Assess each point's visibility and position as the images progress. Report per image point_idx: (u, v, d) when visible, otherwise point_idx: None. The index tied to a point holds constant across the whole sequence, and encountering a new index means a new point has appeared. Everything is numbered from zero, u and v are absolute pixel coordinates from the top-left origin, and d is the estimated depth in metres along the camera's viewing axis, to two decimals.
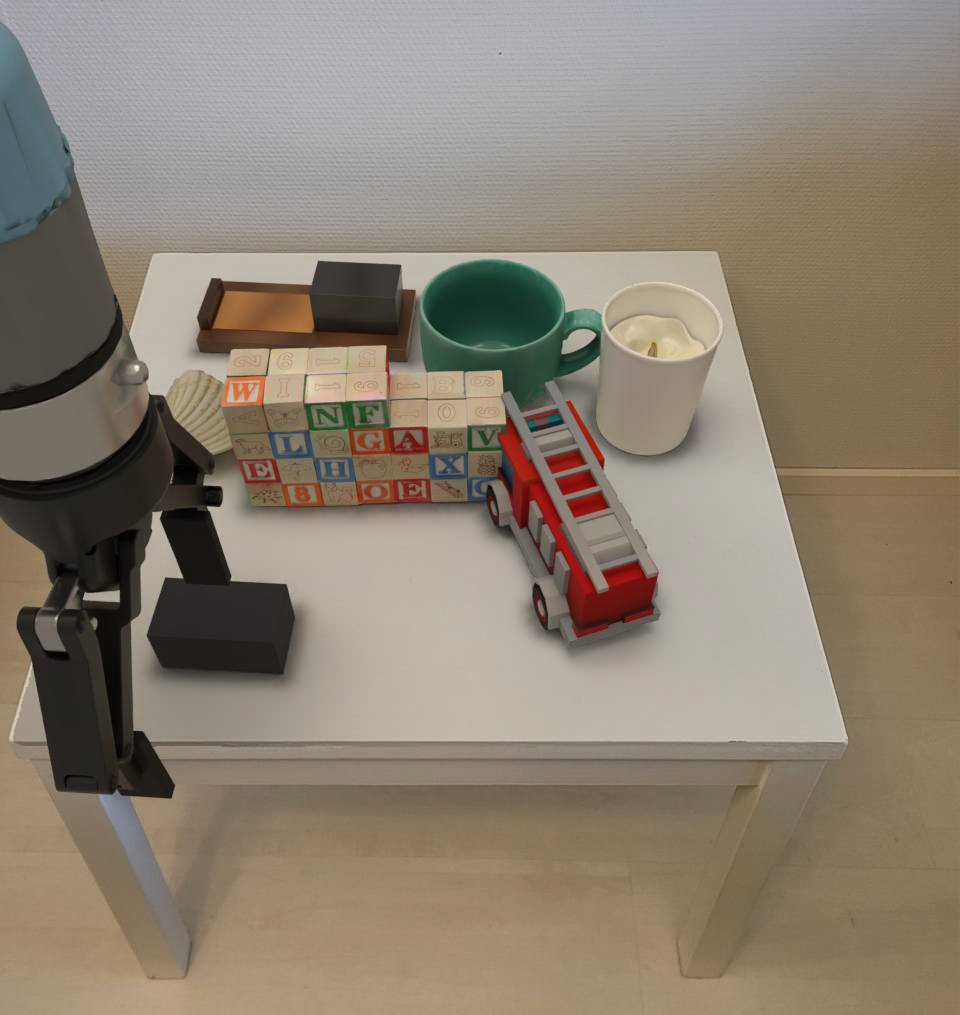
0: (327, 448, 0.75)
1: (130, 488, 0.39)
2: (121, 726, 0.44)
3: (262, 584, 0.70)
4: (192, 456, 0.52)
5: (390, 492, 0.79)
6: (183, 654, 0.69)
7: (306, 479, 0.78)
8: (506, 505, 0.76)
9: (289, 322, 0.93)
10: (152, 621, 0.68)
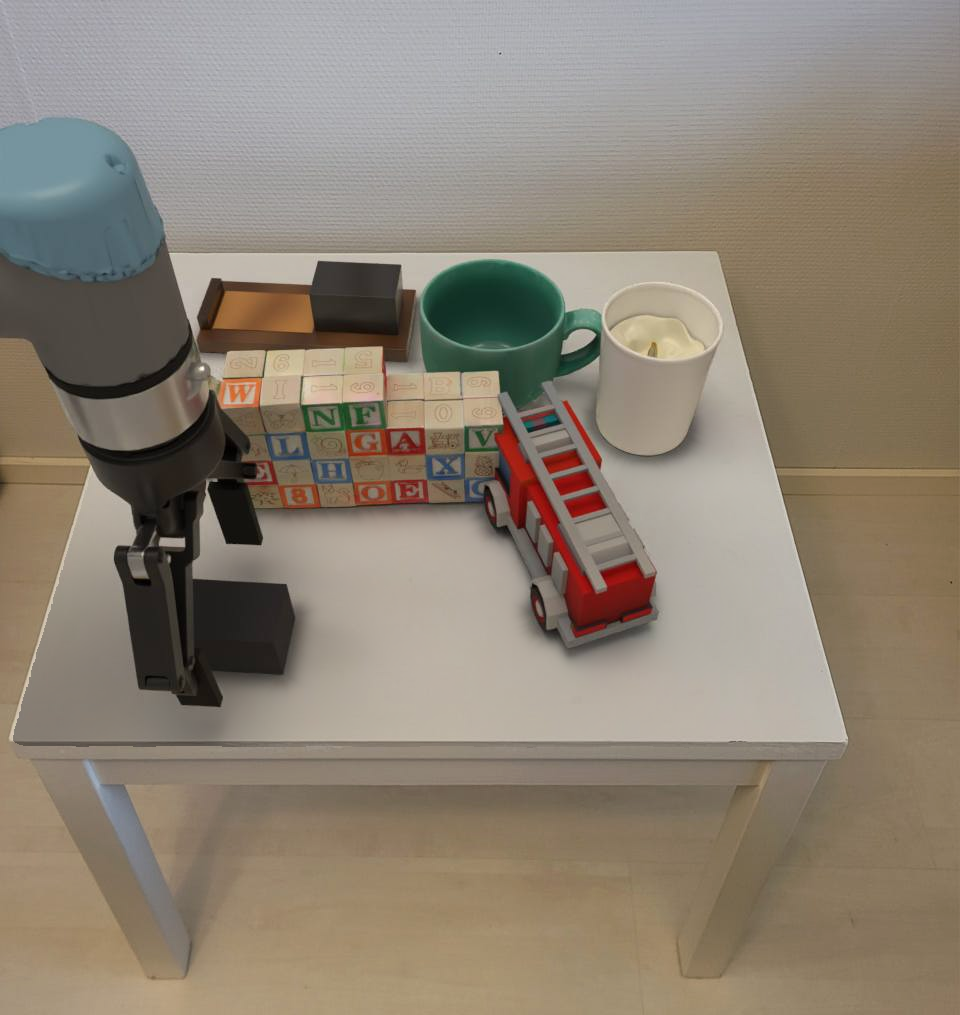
0: (324, 449, 0.75)
1: (196, 456, 0.53)
2: (186, 641, 0.58)
3: (262, 584, 0.70)
4: (234, 438, 0.66)
5: (387, 493, 0.79)
6: None
7: (303, 480, 0.77)
8: (503, 506, 0.76)
9: (289, 322, 0.93)
10: None
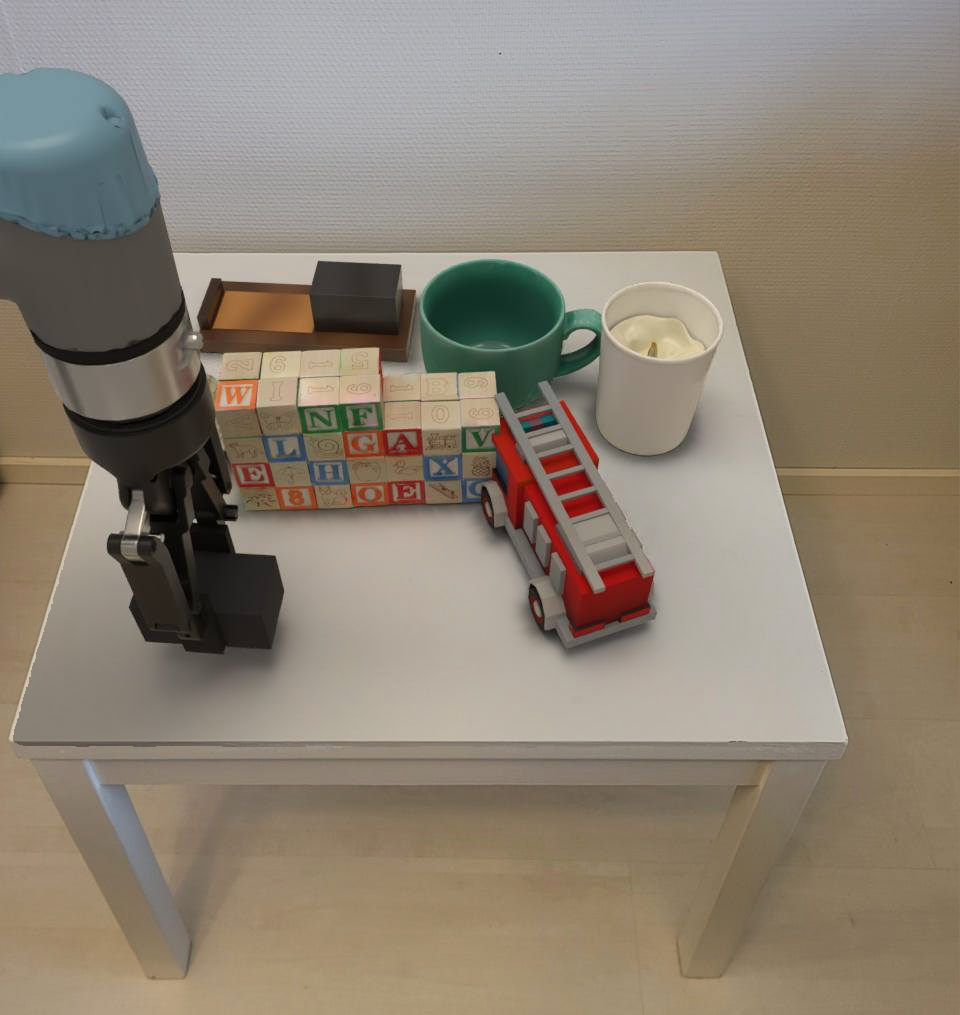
0: (321, 451, 0.75)
1: (186, 429, 0.51)
2: (191, 593, 0.60)
3: (250, 555, 0.67)
4: (218, 459, 0.64)
5: (384, 494, 0.79)
6: None
7: (300, 482, 0.77)
8: (501, 506, 0.76)
9: (289, 322, 0.93)
10: None
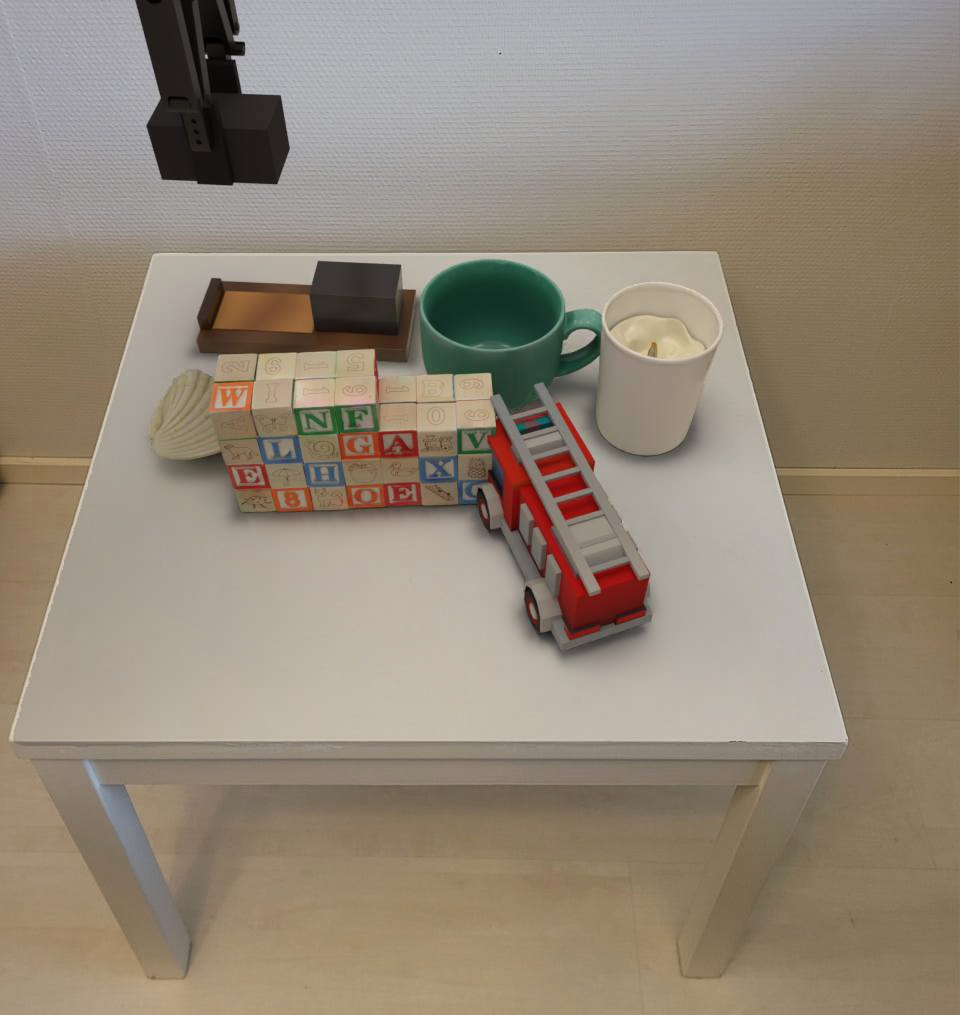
0: (316, 453, 0.75)
1: None
2: (201, 78, 0.66)
3: (257, 95, 0.73)
4: None
5: (380, 496, 0.79)
6: (181, 155, 0.72)
7: (296, 484, 0.77)
8: (497, 508, 0.76)
9: (289, 322, 0.93)
10: (152, 117, 0.71)
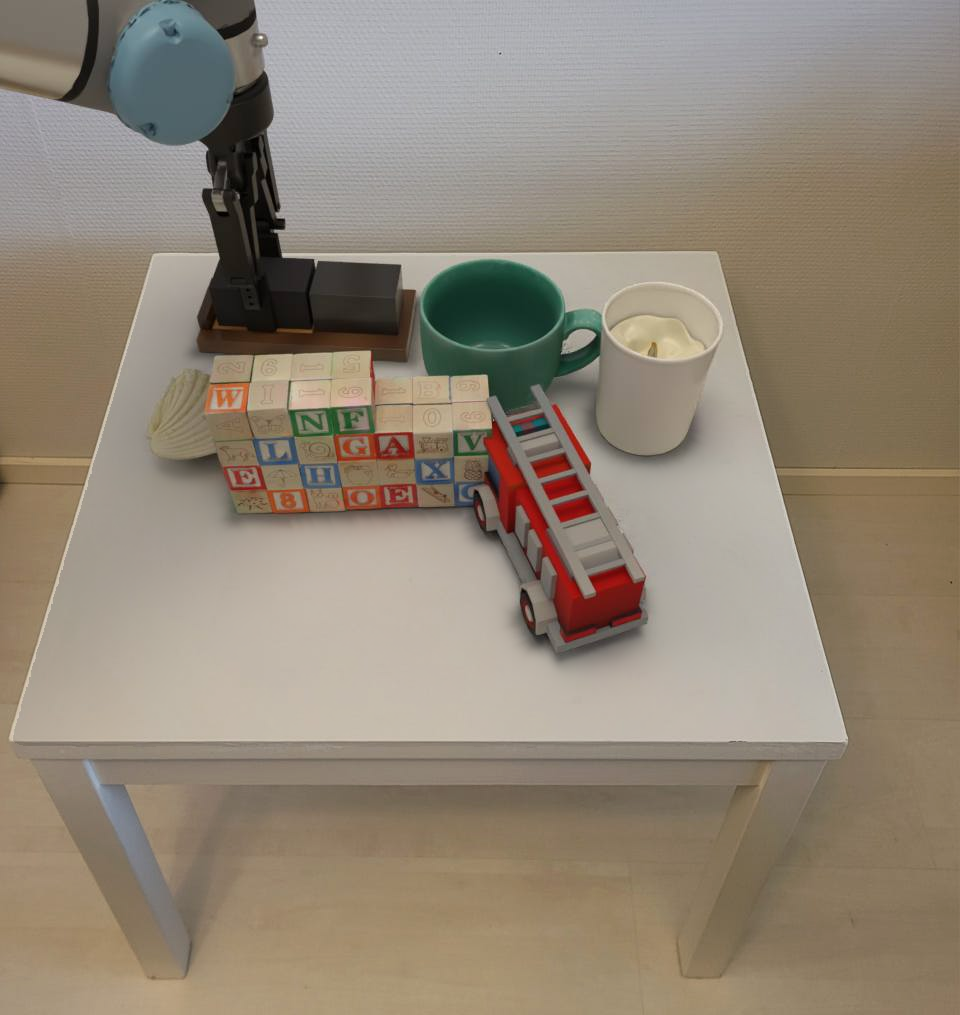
0: (312, 454, 0.74)
1: (256, 109, 0.75)
2: (255, 260, 0.84)
3: (295, 259, 0.91)
4: (271, 177, 0.88)
5: (376, 498, 0.79)
6: (235, 308, 0.90)
7: (292, 485, 0.77)
8: (493, 510, 0.76)
9: None
10: (212, 280, 0.89)
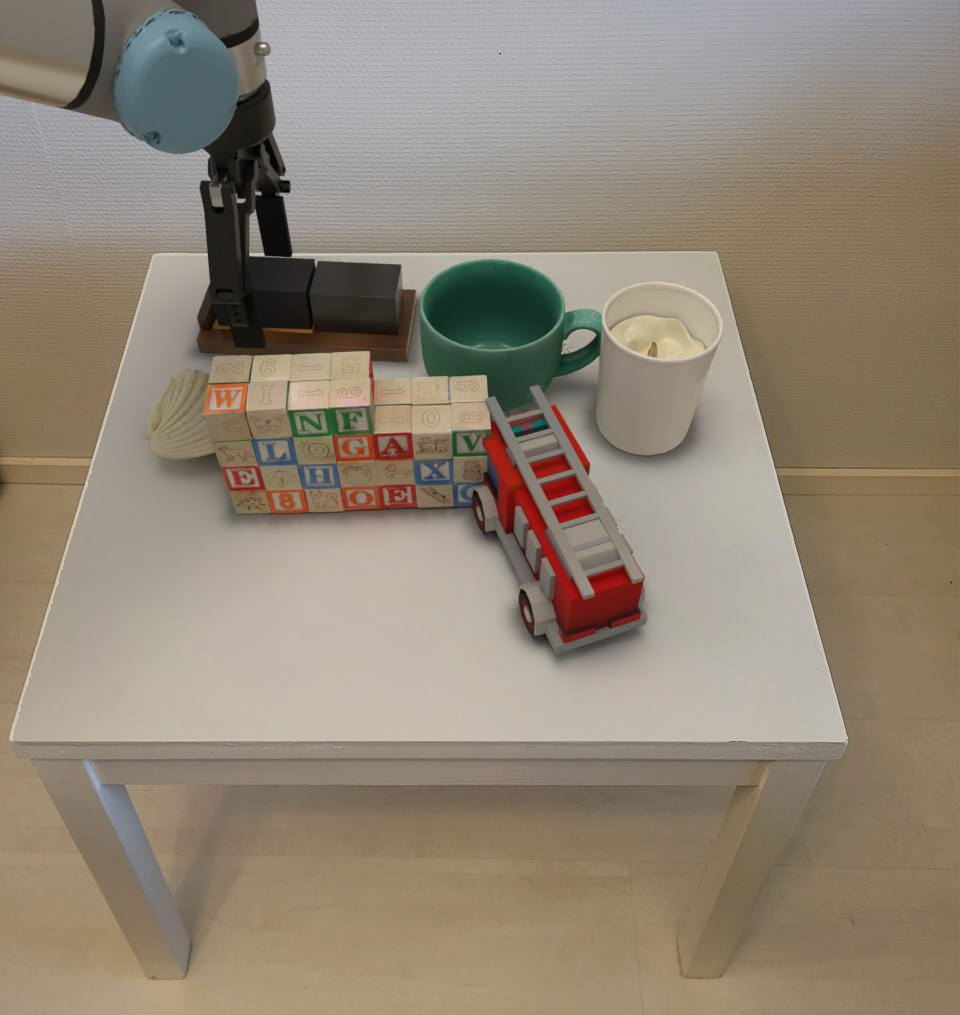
0: (311, 455, 0.74)
1: (258, 117, 0.76)
2: (244, 271, 0.81)
3: (295, 259, 0.92)
4: (275, 153, 0.89)
5: (375, 498, 0.79)
6: None
7: (291, 486, 0.77)
8: (492, 510, 0.76)
9: None
10: None
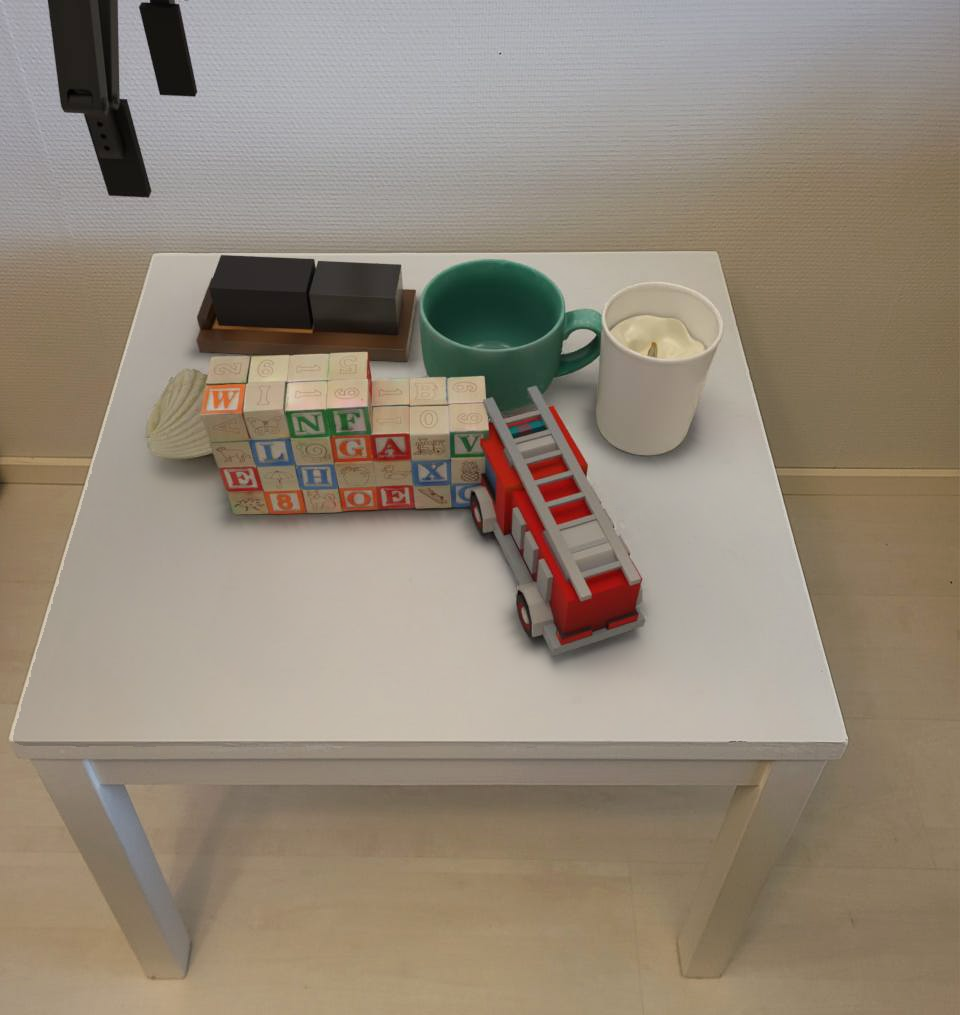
0: (309, 455, 0.74)
1: None
2: (110, 71, 0.58)
3: (295, 259, 0.92)
4: None
5: (373, 499, 0.79)
6: (236, 308, 0.90)
7: (288, 486, 0.77)
8: (490, 511, 0.76)
9: None
10: (213, 280, 0.90)
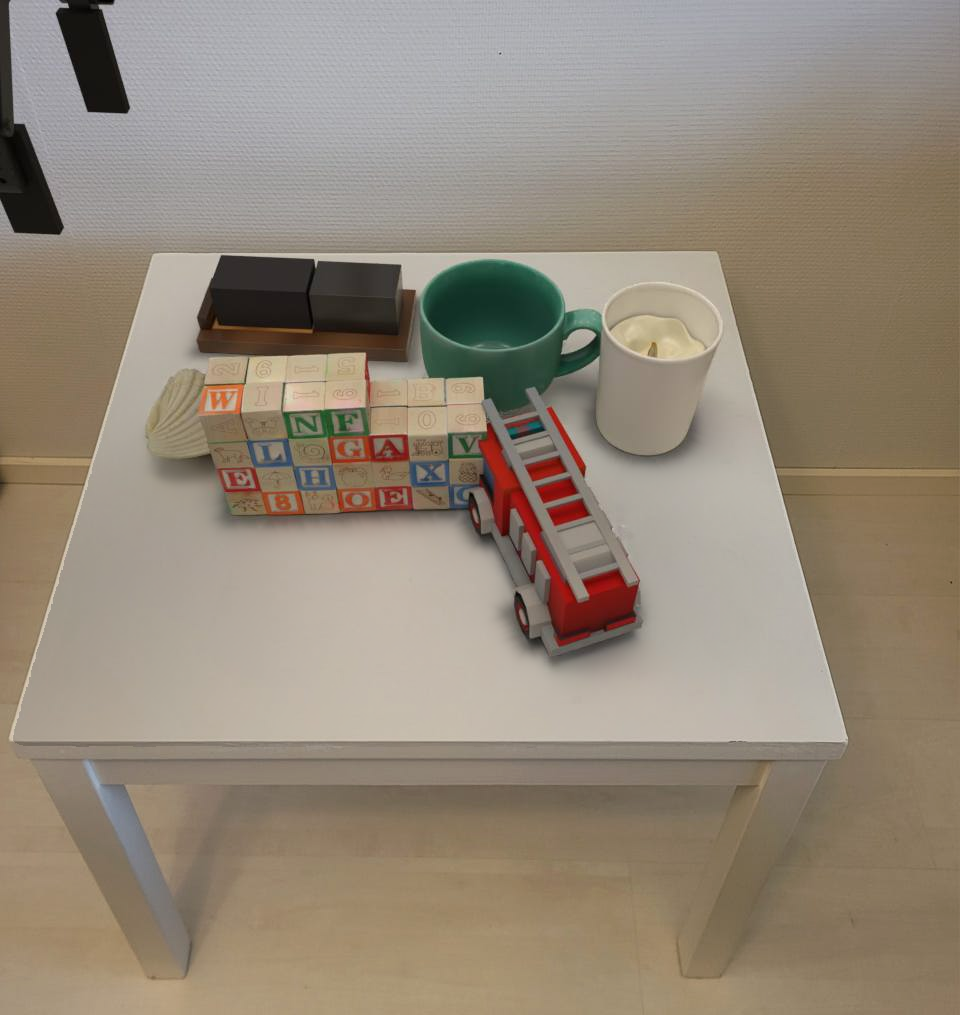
0: (307, 456, 0.74)
1: None
2: None
3: (295, 259, 0.92)
4: None
5: (371, 500, 0.79)
6: (236, 308, 0.90)
7: (286, 487, 0.77)
8: (488, 513, 0.76)
9: None
10: (213, 280, 0.90)
